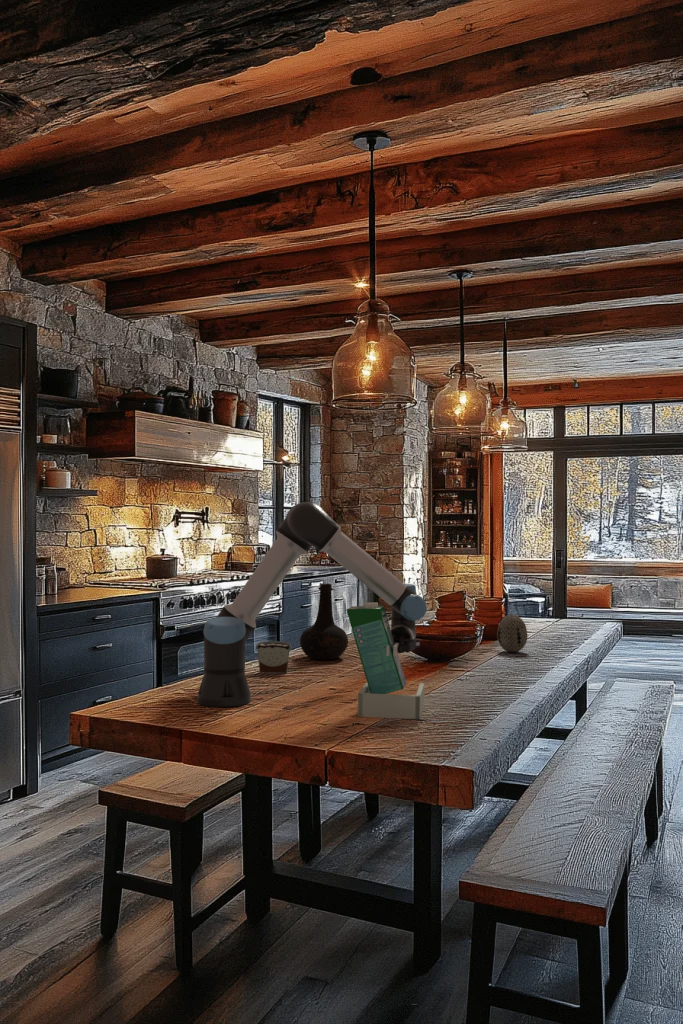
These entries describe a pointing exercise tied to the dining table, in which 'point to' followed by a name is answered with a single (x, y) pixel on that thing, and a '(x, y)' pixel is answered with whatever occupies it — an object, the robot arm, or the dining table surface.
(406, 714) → the box
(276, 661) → the food container
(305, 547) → the robot arm
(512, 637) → the decorative egg
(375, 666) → the milk carton
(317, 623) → the glass bottle
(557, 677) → the dining table surface
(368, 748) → the dining table surface
